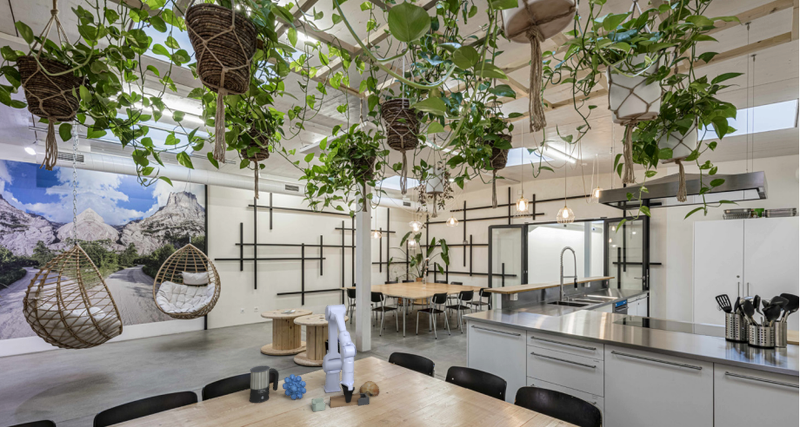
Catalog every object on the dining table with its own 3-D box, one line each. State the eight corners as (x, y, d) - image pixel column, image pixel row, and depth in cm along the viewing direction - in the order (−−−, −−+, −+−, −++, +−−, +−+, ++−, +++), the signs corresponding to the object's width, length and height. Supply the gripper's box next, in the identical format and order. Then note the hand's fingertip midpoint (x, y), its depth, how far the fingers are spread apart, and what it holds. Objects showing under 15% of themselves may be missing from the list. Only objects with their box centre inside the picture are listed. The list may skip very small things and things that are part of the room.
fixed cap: (355, 400, 182) (355, 394, 182) (366, 399, 183) (366, 392, 184) (358, 405, 175) (358, 399, 176) (369, 404, 177) (369, 397, 177)
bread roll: (360, 404, 185) (361, 392, 183) (357, 389, 194) (358, 376, 192) (379, 402, 188) (381, 390, 185) (376, 387, 197) (377, 375, 194)
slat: (329, 405, 176) (329, 396, 176) (358, 401, 180) (358, 392, 181) (330, 408, 173) (330, 399, 173) (360, 404, 177) (360, 395, 177)
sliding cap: (311, 405, 175) (311, 398, 175) (323, 404, 177) (323, 397, 177) (312, 411, 169) (313, 404, 169) (325, 409, 170) (325, 402, 171)
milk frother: (256, 405, 176) (257, 372, 177) (236, 397, 185) (238, 366, 186) (281, 395, 188) (282, 364, 189) (261, 388, 196) (262, 359, 198)
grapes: (279, 403, 178) (280, 377, 179) (283, 397, 184) (283, 372, 186) (304, 402, 179) (305, 376, 180) (307, 397, 185) (307, 372, 187)
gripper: (337, 367, 184) (336, 396, 183) (342, 377, 170) (341, 408, 169) (351, 366, 186) (350, 394, 185) (357, 375, 172) (356, 405, 171)
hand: (347, 400), depth 177 cm, fingers closed on slat, 3 cm apart
